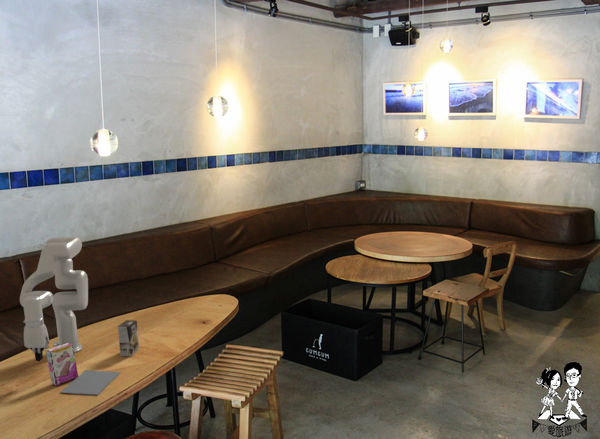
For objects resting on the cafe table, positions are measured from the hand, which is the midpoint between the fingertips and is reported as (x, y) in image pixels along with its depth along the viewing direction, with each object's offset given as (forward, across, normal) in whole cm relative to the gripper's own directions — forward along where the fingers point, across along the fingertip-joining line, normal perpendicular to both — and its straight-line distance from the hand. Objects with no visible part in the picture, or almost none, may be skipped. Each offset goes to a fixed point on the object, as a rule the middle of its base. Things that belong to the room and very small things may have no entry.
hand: (39, 360), depth 275 cm
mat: (+10, +25, 0) cm, 27 cm away
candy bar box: (+10, +12, 0) cm, 16 cm away
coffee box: (+10, +28, +34) cm, 45 cm away
